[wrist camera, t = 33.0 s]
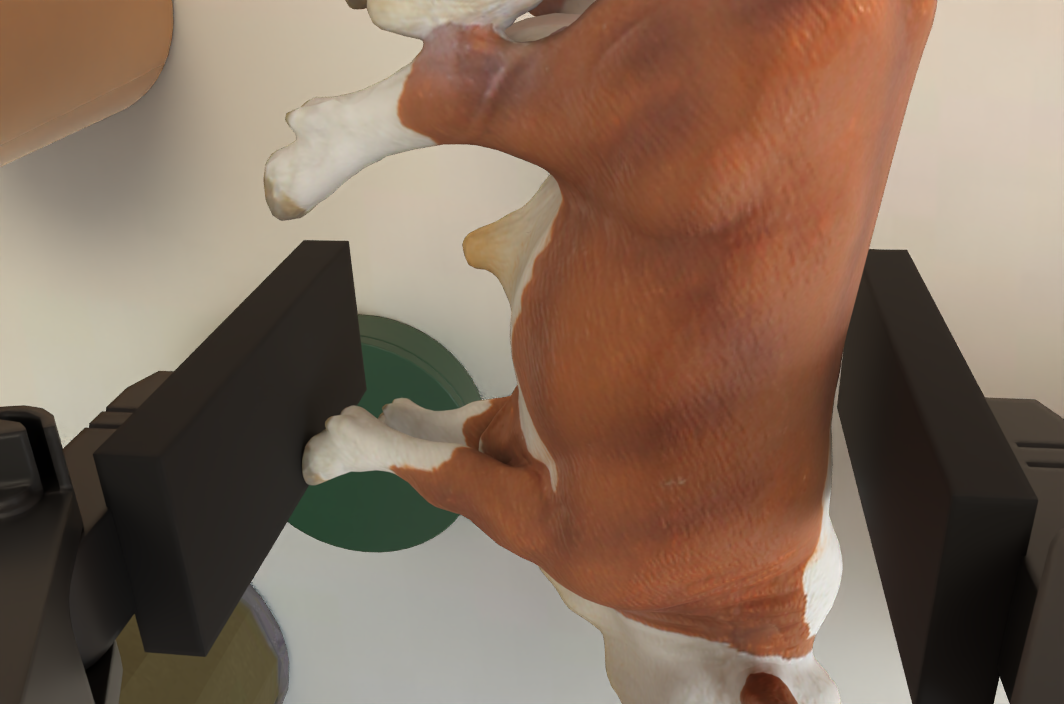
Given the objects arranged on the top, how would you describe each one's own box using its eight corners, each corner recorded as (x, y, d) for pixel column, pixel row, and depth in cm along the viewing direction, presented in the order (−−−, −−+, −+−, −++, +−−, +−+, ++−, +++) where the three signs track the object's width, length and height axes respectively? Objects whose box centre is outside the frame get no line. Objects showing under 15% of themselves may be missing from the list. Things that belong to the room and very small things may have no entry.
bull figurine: (287, 767, 16) (813, 910, 15) (216, -192, 10) (1123, -129, 8) (391, 591, 20) (816, 689, 18) (386, -184, 14) (1031, -140, 12)
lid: (401, 557, 33) (386, 593, 31) (217, 429, 32) (192, 460, 30) (535, 413, 30) (526, 445, 28) (337, 266, 29) (316, 291, 27)
